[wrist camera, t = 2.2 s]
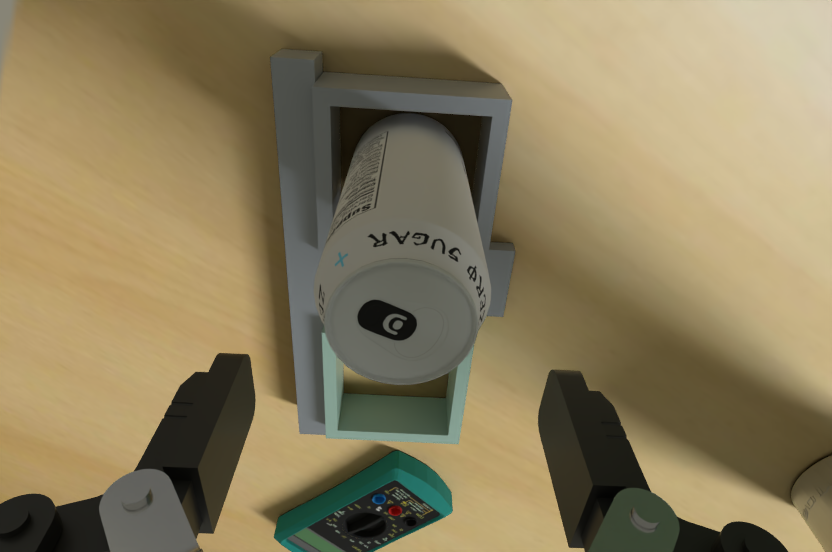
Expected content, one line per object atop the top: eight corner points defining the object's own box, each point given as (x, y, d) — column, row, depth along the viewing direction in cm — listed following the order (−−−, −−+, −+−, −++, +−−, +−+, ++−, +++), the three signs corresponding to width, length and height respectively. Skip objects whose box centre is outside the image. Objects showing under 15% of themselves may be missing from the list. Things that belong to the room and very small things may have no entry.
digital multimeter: (458, 485, 45) (460, 517, 42) (333, 549, 50) (328, 581, 47) (402, 440, 42) (401, 471, 39) (275, 513, 47) (267, 544, 44)
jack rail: (545, 66, 26) (561, 81, 23) (481, 416, 40) (486, 454, 37) (281, 48, 26) (264, 61, 23) (305, 408, 39) (296, 446, 36)
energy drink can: (431, 228, 31) (440, 419, 18) (337, 185, 30) (277, 360, 17) (482, 139, 28) (535, 293, 16) (381, 87, 27) (350, 209, 14)
